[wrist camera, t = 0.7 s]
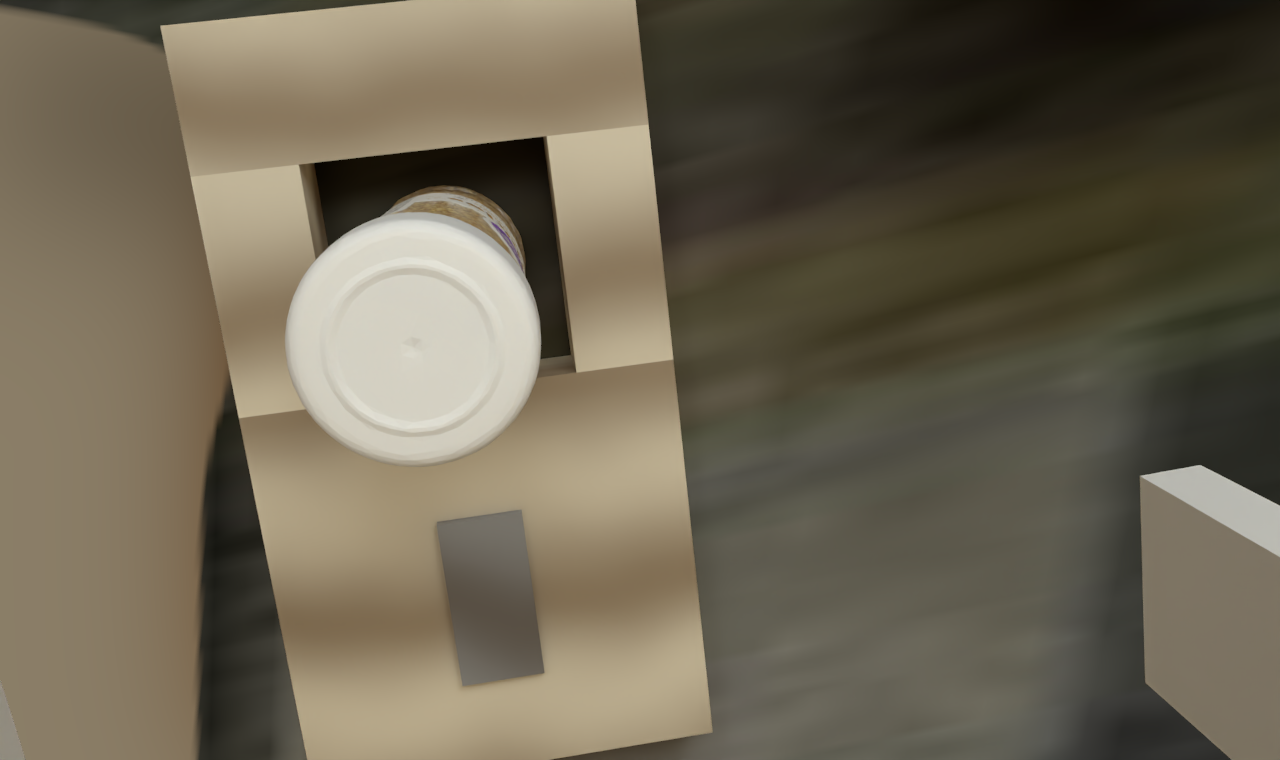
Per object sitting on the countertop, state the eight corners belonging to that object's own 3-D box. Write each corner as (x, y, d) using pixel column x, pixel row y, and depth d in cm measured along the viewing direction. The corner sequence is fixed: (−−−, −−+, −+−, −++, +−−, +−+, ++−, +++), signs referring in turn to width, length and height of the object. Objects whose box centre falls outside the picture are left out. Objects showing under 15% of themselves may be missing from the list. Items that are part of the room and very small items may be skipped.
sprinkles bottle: (557, 264, 33) (596, 352, 20) (446, 369, 33) (414, 524, 20) (446, 148, 32) (412, 163, 19) (332, 258, 32) (222, 347, 19)
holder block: (186, 33, 31) (156, 24, 28) (622, -11, 32) (634, -24, 29) (327, 753, 36) (313, 804, 33) (698, 692, 37) (714, 737, 34)
